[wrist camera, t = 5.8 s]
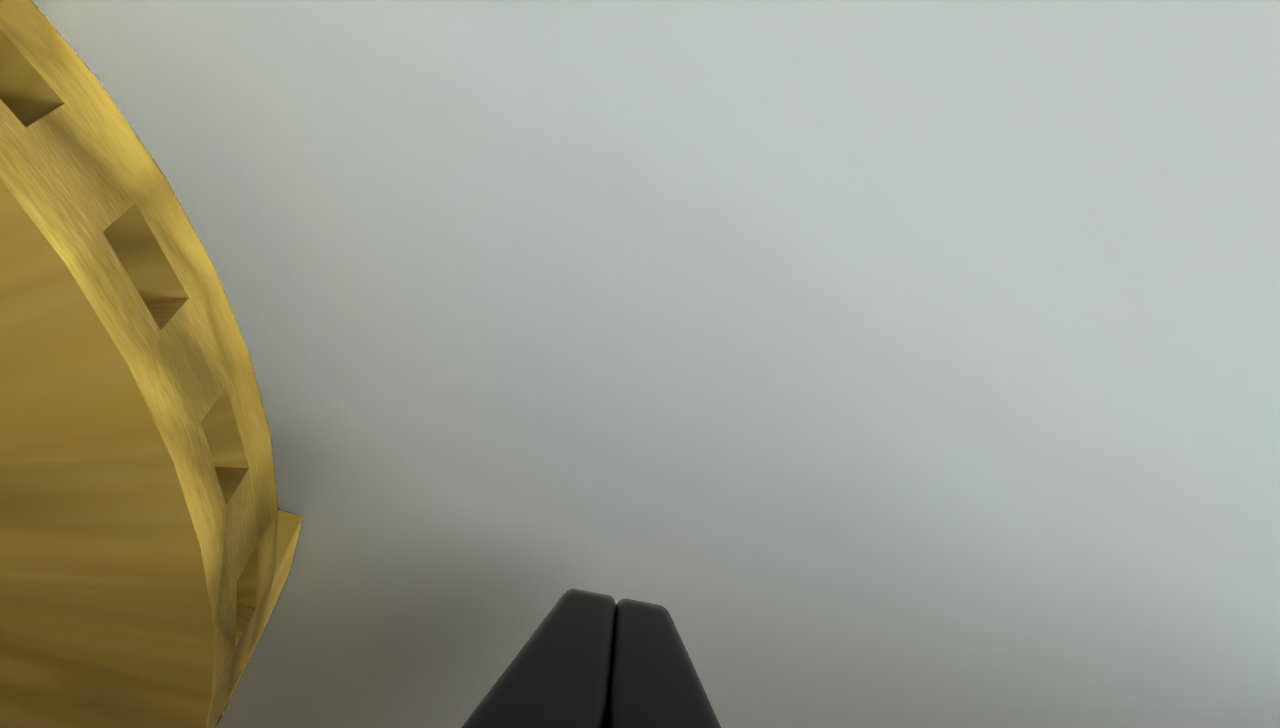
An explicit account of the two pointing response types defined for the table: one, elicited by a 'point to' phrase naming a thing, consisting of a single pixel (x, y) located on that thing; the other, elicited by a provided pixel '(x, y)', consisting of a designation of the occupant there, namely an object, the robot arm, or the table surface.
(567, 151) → the table surface
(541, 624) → the robot arm
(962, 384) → the table surface
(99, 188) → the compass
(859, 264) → the table surface
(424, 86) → the table surface
